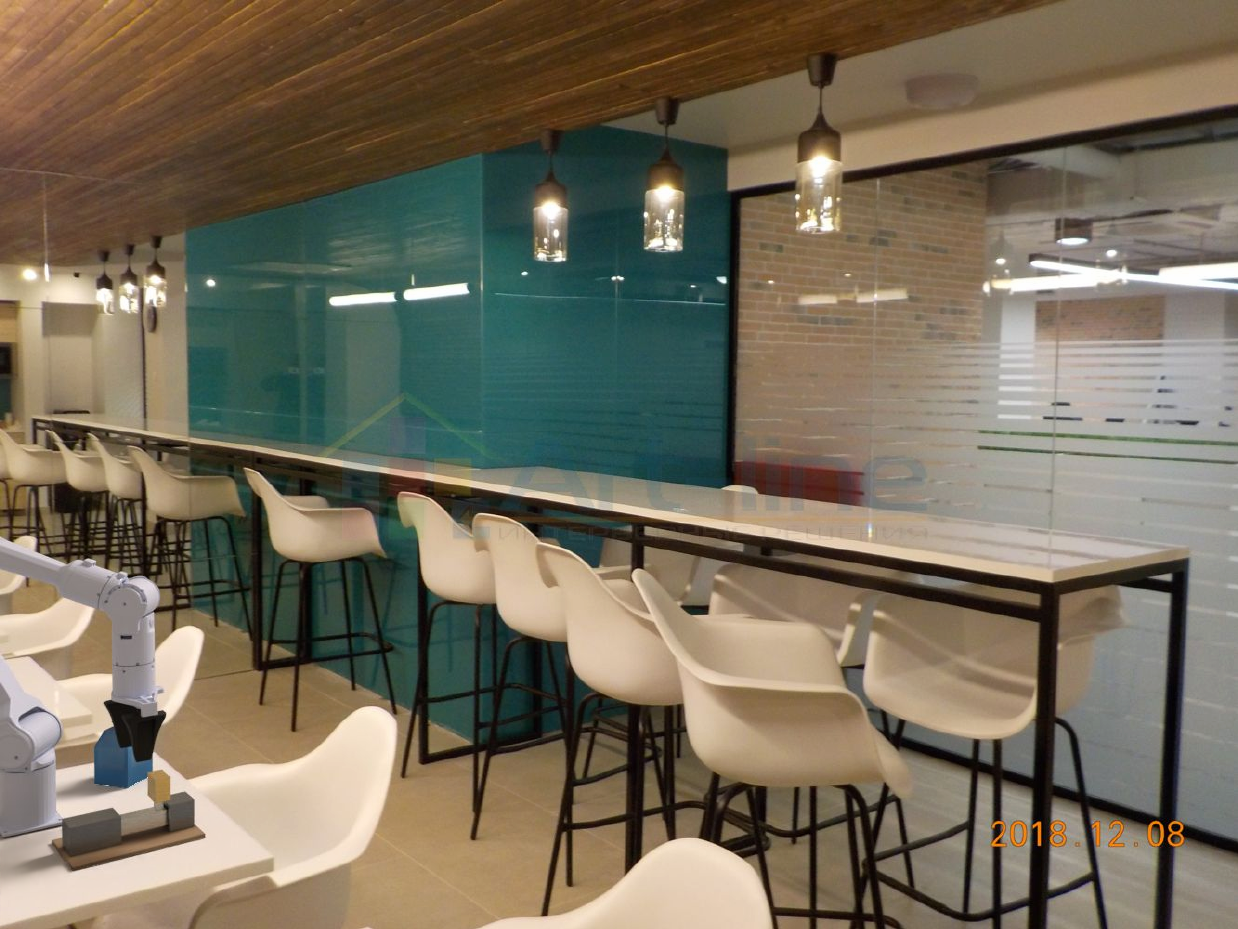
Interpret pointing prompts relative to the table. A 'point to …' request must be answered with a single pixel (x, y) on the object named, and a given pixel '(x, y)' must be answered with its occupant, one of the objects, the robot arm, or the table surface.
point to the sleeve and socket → (118, 826)
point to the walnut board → (130, 846)
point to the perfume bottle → (117, 763)
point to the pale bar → (153, 815)
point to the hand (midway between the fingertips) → (135, 753)
